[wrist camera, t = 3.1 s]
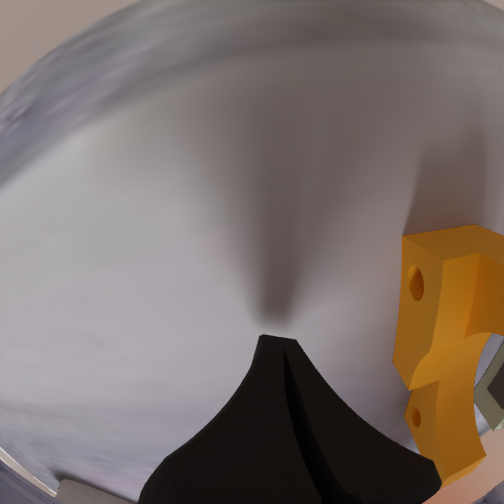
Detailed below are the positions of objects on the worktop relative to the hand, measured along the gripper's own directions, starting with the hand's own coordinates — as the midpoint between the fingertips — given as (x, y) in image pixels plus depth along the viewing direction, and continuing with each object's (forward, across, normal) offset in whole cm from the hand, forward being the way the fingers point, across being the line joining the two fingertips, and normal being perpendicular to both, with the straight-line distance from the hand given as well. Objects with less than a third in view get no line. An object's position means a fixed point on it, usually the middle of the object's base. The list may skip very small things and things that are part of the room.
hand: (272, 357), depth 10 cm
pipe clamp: (+2, -8, 0) cm, 9 cm away
